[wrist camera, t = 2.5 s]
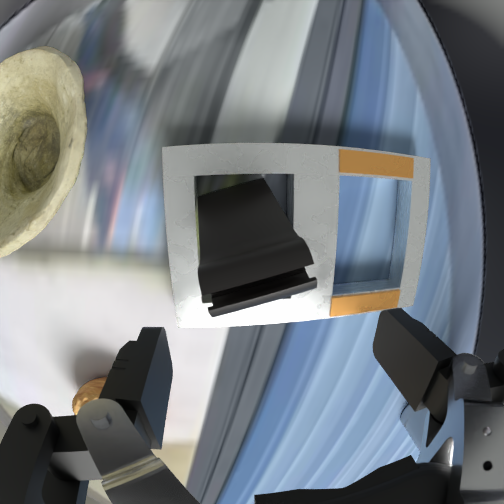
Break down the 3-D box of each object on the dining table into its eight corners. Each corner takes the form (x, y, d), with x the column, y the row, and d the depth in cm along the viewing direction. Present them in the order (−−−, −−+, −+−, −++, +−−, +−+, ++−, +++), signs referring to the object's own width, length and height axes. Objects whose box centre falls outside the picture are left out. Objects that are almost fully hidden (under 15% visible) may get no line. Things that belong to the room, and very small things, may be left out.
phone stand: (197, 195, 24) (176, 219, 13) (263, 177, 24) (298, 186, 13) (225, 286, 27) (229, 367, 16) (285, 269, 27) (327, 339, 16)
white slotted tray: (416, 158, 25) (431, 158, 23) (401, 296, 30) (413, 306, 27) (167, 149, 23) (161, 147, 20) (181, 314, 27) (177, 328, 25)
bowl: (54, 218, 27) (-47, 210, 16) (99, 68, 22) (-12, 46, 11) (69, 289, 19) (-80, 284, 8) (136, 56, 14) (-47, 20, 3)
